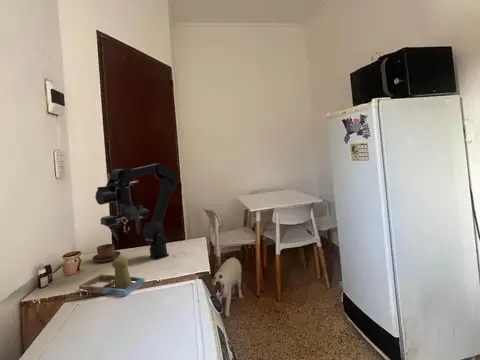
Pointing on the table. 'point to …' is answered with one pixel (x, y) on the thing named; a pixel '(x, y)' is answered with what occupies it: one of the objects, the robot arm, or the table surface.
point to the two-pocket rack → (107, 287)
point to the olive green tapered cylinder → (121, 273)
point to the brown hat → (106, 253)
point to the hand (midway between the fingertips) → (128, 237)
